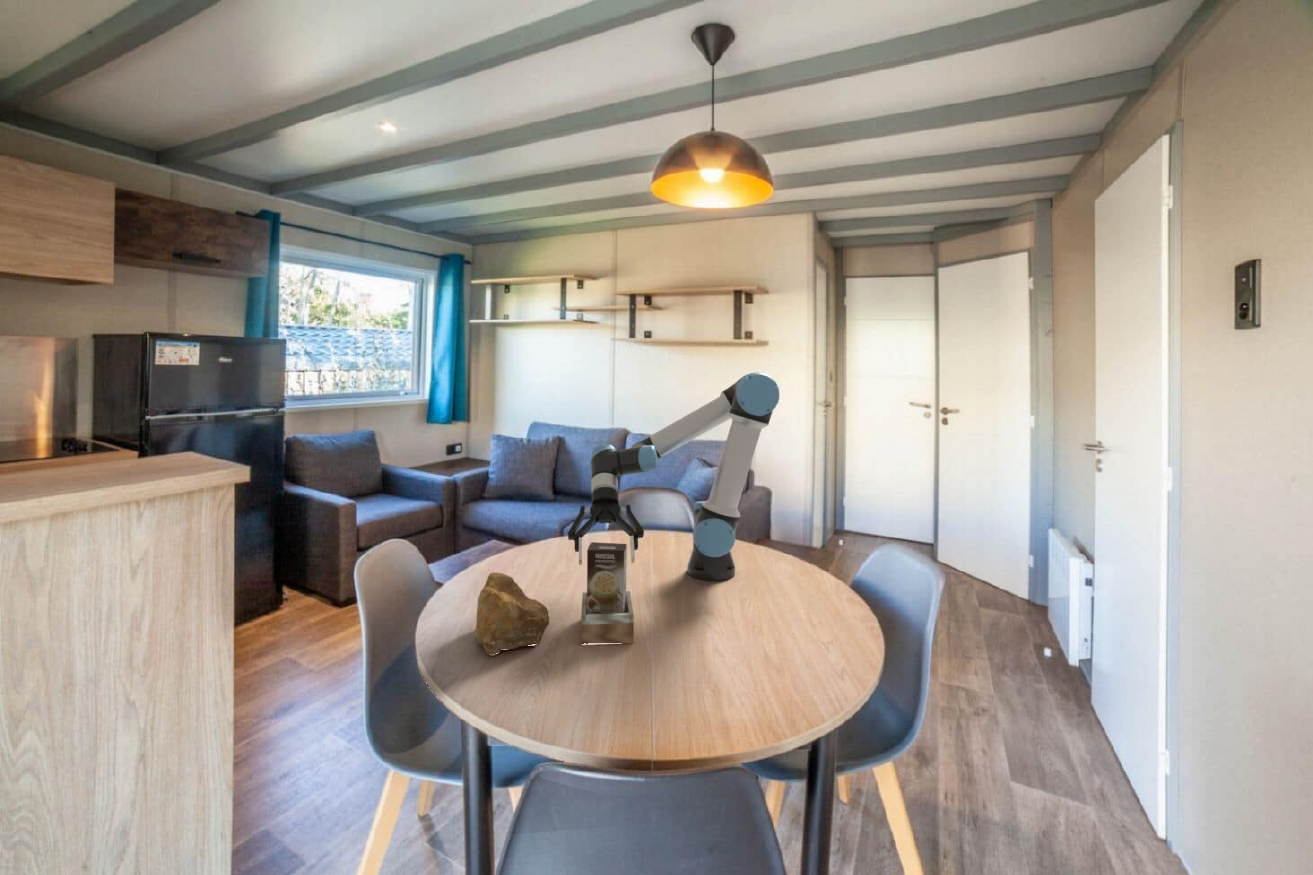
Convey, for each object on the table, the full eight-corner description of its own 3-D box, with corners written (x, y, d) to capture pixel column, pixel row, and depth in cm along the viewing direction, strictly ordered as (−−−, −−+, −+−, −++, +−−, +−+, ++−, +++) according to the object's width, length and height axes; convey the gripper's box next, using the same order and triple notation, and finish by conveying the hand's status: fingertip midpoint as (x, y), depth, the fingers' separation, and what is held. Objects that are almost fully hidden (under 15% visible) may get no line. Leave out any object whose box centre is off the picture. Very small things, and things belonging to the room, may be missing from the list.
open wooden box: (629, 617, 148) (629, 591, 147) (633, 643, 133) (633, 614, 132) (582, 619, 147) (582, 592, 146) (581, 645, 132) (581, 616, 131)
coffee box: (585, 615, 137) (585, 549, 135) (590, 604, 143) (590, 541, 142) (624, 616, 136) (624, 550, 135) (627, 606, 143) (627, 542, 141)
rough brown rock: (548, 666, 124) (553, 598, 123) (467, 668, 120) (472, 597, 120) (546, 625, 146) (550, 567, 146) (478, 625, 143) (482, 566, 142)
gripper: (647, 499, 167) (653, 566, 153) (560, 501, 164) (558, 569, 150) (649, 484, 161) (655, 552, 147) (559, 486, 158) (557, 555, 145)
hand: (606, 561), depth 149 cm, fingers open, 13 cm apart
